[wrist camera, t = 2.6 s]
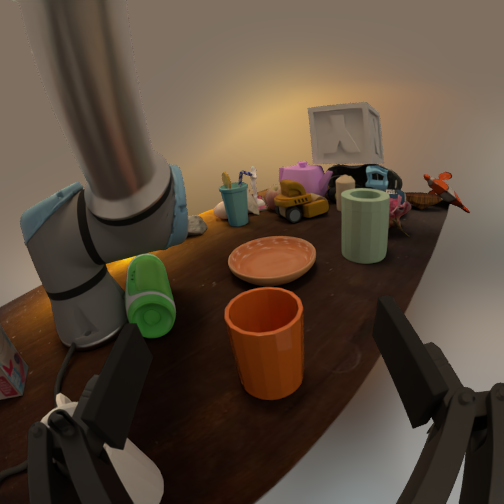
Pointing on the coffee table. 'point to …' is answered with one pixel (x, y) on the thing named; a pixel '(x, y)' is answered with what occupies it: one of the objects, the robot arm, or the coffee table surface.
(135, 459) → the mug
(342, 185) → the candle
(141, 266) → the speaker
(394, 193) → the soda can
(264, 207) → the smartphone
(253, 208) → the arrowhead
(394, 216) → the flower
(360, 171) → the running shoe
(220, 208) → the egg
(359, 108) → the decorative block
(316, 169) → the teapot
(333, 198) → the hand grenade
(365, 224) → the green jar
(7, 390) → the juice carton
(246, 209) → the cup
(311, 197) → the toy roller
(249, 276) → the saucer
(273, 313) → the orange cup
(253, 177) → the figurine
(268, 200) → the apple
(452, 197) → the fish
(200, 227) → the decorative stone
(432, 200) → the croissant
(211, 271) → the coffee table surface
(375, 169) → the phone stand
